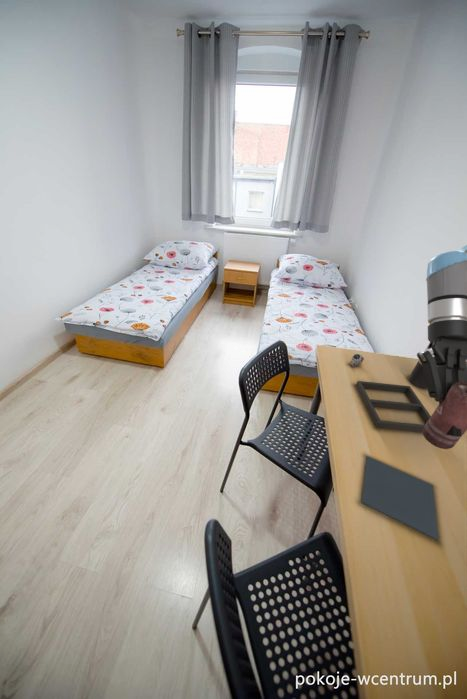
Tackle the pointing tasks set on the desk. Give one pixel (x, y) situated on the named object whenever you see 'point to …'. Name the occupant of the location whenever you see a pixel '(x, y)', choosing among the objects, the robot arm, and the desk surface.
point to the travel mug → (418, 376)
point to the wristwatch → (356, 360)
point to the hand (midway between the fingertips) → (451, 435)
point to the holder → (392, 406)
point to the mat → (400, 497)
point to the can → (448, 418)
